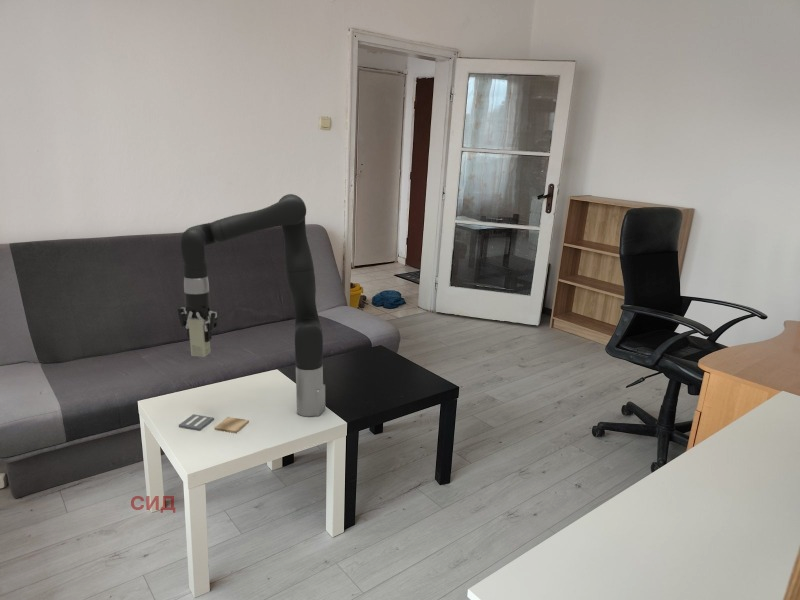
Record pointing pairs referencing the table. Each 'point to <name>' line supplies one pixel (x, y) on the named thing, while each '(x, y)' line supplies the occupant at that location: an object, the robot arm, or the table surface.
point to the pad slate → (196, 422)
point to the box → (198, 338)
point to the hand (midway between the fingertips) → (199, 340)
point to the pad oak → (231, 425)
